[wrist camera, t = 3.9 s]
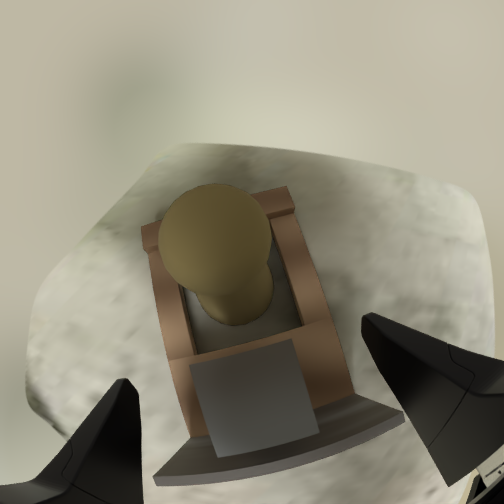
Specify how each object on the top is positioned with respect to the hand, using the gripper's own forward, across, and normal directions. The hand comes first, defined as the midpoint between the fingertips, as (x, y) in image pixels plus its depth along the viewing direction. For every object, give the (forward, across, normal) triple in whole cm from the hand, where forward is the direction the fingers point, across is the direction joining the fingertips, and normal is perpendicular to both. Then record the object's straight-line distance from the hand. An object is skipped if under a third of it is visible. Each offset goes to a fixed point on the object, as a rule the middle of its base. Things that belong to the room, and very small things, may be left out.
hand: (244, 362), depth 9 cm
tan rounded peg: (+12, 0, +4) cm, 12 cm away
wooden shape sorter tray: (+9, 0, +6) cm, 11 cm away
